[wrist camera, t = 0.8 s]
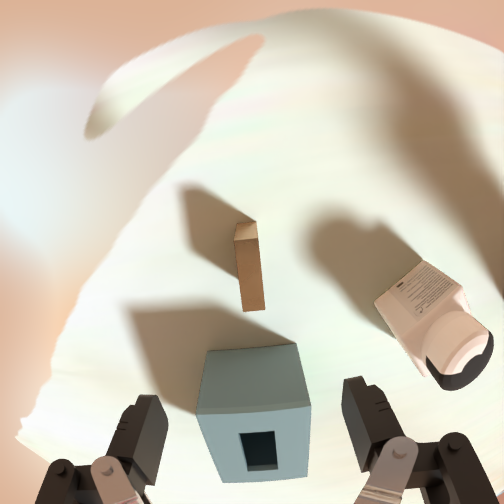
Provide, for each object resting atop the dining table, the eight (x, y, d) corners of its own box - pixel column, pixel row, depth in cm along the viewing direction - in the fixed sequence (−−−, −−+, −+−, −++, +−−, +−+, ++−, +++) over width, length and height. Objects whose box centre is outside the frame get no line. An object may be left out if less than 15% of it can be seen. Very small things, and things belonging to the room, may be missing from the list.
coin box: (296, 343, 32) (311, 406, 22) (297, 420, 36) (307, 476, 27) (207, 351, 32) (195, 414, 23) (226, 426, 36) (222, 482, 27)
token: (256, 221, 28) (258, 238, 22) (262, 280, 29) (265, 309, 24) (236, 223, 28) (233, 240, 22) (244, 282, 29) (243, 311, 24)
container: (443, 302, 31) (505, 359, 18) (397, 341, 32) (446, 412, 20) (423, 258, 29) (497, 310, 17) (371, 301, 30) (427, 375, 18)
